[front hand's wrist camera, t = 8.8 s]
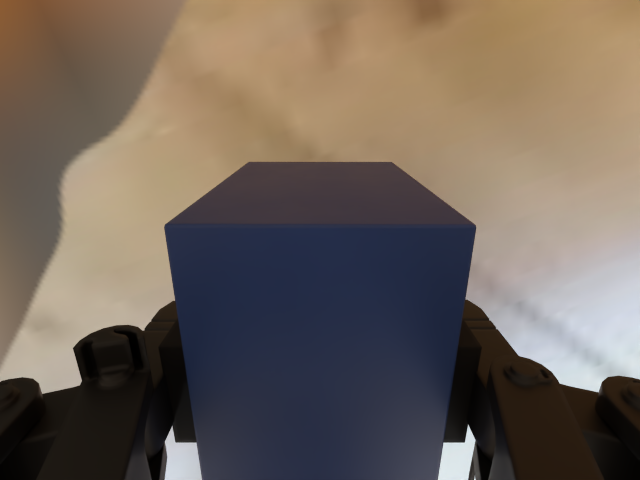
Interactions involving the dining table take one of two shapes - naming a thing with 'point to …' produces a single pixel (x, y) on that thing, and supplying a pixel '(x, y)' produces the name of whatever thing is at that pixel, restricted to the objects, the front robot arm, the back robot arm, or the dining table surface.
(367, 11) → the dining table surface
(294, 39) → the dining table surface
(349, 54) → the dining table surface
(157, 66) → the dining table surface
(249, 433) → the bar
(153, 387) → the front robot arm
